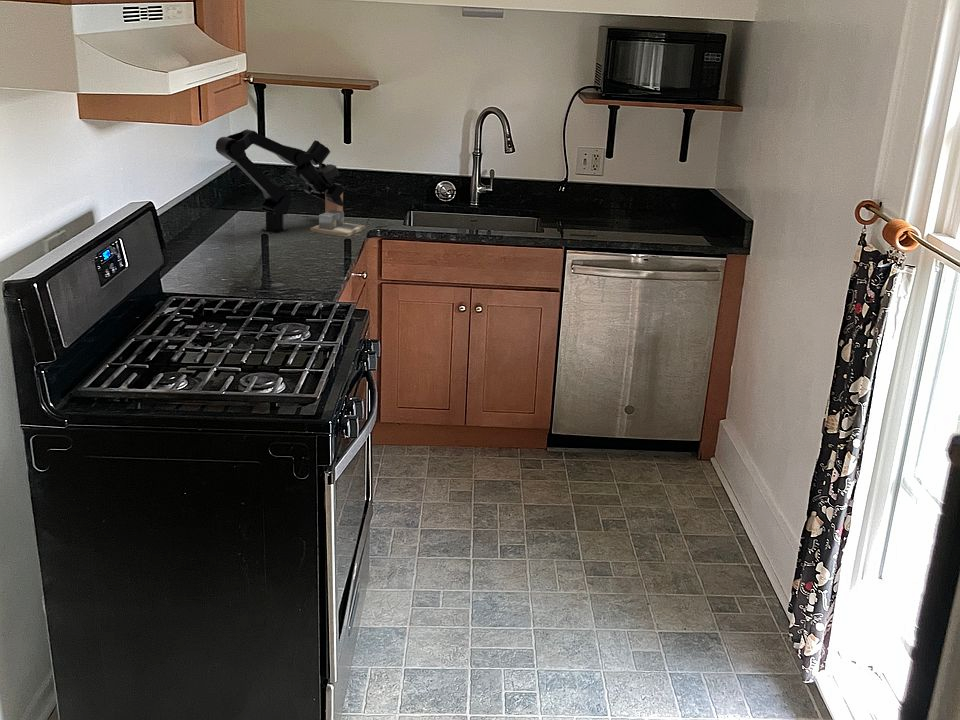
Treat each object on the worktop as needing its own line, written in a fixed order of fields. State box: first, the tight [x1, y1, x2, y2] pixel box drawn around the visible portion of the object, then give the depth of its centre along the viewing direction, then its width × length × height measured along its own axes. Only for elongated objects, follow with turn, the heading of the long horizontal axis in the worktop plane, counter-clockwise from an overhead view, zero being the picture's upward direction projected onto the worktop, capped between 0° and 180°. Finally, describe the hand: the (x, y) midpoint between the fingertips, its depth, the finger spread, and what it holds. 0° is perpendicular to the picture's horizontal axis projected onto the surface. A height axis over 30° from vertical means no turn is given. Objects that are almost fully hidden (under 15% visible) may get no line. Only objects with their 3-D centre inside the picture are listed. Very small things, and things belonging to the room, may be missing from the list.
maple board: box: [310, 210, 366, 238], centre depth 323 cm, size 14×14×6 cm
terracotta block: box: [324, 192, 344, 213], centre depth 333 cm, size 5×5×11 cm
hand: (337, 203), depth 333 cm, fingers closed on terracotta block, 6 cm apart
